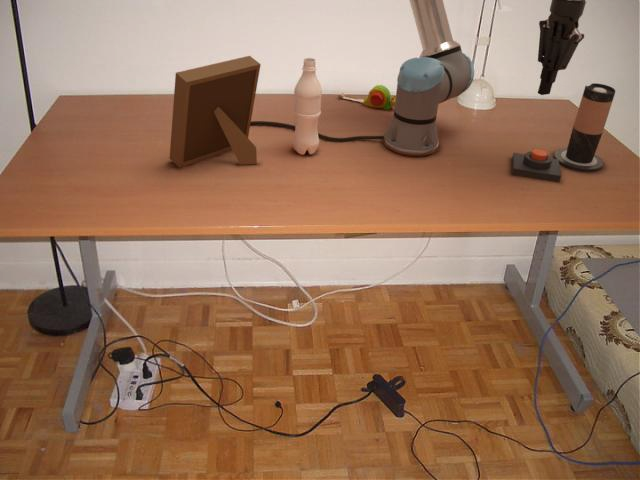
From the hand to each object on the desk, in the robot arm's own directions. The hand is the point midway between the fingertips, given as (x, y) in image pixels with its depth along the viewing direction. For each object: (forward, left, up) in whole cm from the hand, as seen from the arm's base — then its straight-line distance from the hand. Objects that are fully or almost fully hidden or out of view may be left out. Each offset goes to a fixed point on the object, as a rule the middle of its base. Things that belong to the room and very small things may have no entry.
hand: (543, 93), depth 163 cm
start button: (+3, -2, -17) cm, 17 cm away
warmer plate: (+15, +8, -20) cm, 26 cm away
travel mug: (+15, +8, -19) cm, 25 cm away
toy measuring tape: (-48, +28, -21) cm, 59 cm away
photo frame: (-77, -25, -21) cm, 84 cm away
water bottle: (-58, -12, -21) cm, 63 cm away
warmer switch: (+3, -2, -20) cm, 21 cm away
